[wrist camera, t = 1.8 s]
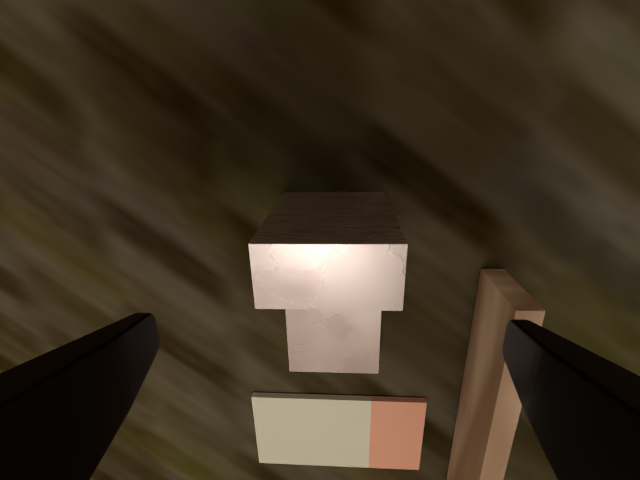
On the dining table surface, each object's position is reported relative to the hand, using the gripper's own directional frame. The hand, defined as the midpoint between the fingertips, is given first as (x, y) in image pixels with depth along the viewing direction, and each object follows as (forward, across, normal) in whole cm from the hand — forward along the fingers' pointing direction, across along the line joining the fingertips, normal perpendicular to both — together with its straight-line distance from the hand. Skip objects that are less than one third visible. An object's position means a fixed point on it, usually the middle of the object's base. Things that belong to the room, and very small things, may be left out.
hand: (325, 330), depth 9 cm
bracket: (+10, 0, +4) cm, 10 cm away
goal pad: (+10, 0, +15) cm, 18 cm away
